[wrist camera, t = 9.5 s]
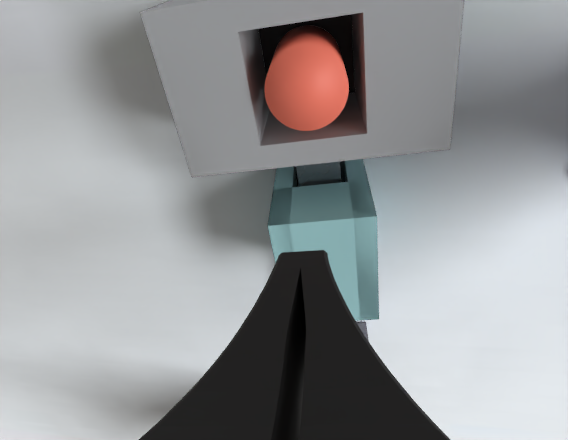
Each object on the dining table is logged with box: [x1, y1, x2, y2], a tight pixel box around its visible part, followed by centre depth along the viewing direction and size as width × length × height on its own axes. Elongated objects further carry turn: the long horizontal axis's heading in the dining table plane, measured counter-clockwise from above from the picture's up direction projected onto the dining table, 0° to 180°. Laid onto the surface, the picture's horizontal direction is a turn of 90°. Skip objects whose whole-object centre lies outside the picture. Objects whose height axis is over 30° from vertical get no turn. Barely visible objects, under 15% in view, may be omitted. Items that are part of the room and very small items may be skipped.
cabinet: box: [140, 0, 464, 177], centre depth 16 cm, size 10×6×5 cm, turn 98°
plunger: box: [264, 25, 349, 131], centre depth 15 cm, size 3×3×4 cm
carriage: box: [268, 159, 379, 320], centre depth 20 cm, size 4×6×5 cm
